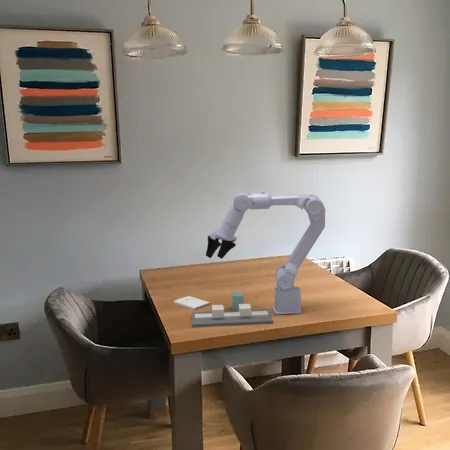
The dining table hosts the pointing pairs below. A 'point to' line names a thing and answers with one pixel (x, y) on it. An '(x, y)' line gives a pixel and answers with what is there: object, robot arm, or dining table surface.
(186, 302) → the external hard drive
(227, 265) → the dining table surface
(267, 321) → the rail board
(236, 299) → the block
